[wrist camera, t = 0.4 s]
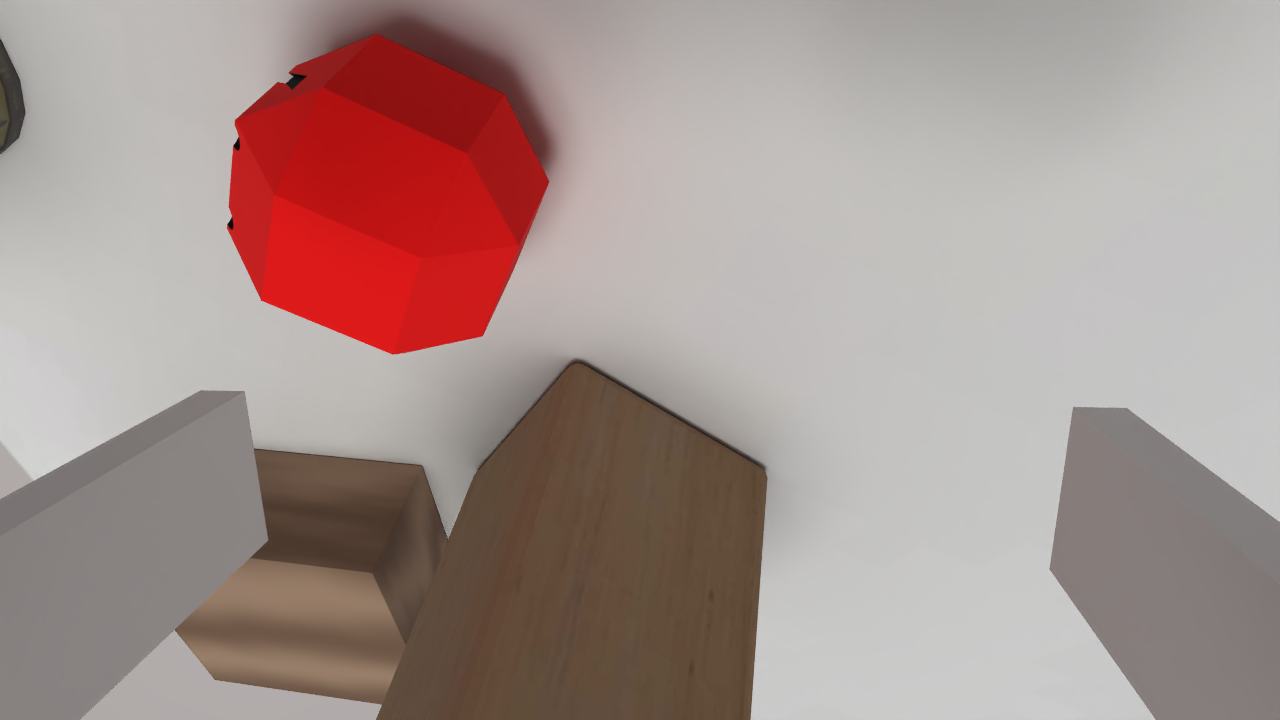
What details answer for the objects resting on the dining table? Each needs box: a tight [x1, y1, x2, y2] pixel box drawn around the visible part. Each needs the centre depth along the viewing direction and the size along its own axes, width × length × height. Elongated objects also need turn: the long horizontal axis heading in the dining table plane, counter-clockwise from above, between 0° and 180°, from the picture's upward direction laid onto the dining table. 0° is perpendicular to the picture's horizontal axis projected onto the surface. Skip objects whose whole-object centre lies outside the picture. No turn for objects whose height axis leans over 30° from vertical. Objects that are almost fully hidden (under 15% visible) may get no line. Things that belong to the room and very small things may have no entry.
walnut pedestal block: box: [175, 449, 448, 704], centre depth 43 cm, size 13×13×6 cm
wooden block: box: [376, 363, 767, 720], centre depth 30 cm, size 10×10×20 cm
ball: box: [227, 34, 549, 354], centre depth 25 cm, size 8×8×8 cm
